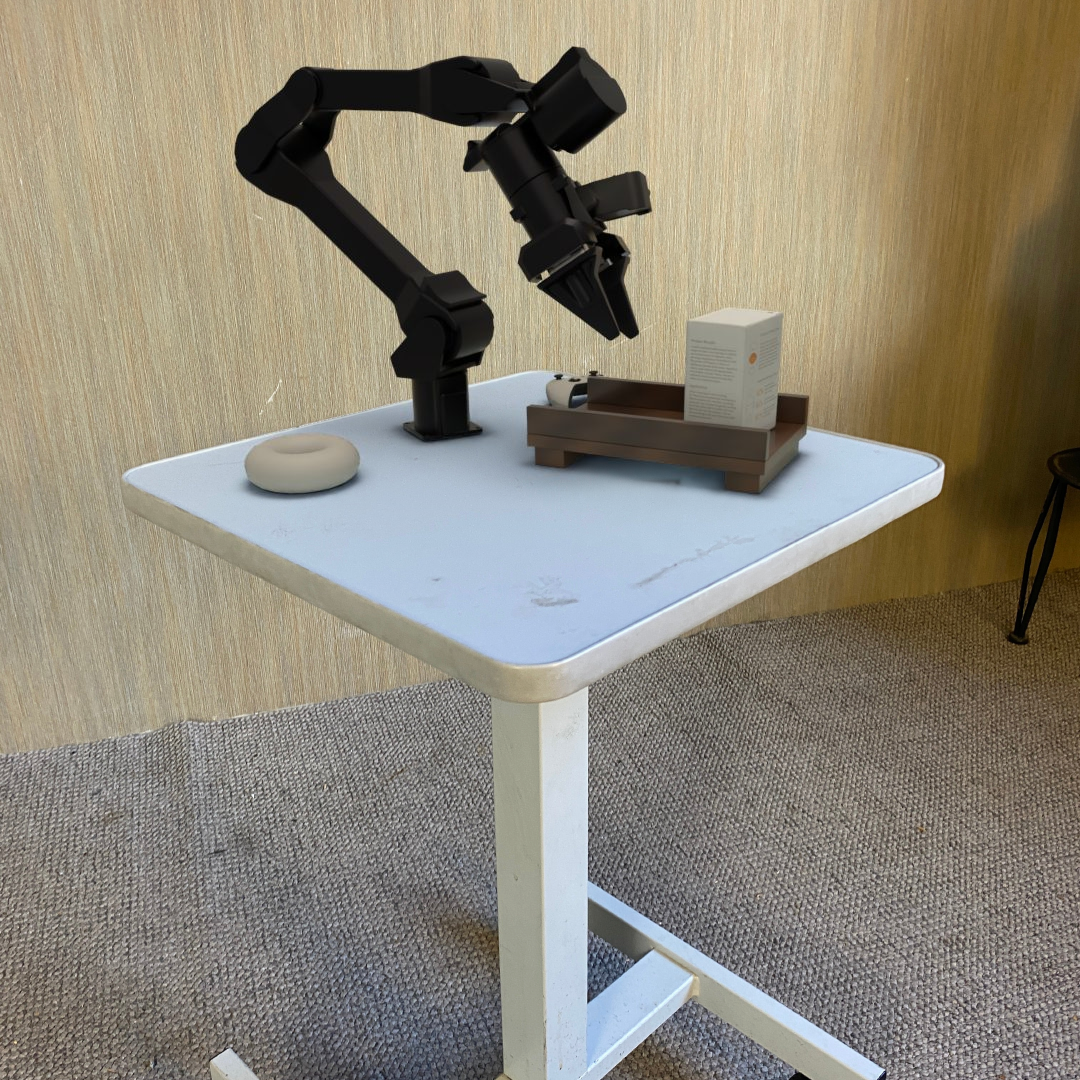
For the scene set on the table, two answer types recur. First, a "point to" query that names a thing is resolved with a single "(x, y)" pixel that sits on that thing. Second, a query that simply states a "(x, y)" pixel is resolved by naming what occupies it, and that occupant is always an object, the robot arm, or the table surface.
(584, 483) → the table surface
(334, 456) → the donut
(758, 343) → the small box
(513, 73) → the robot arm
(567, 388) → the game controller
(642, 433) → the tray
